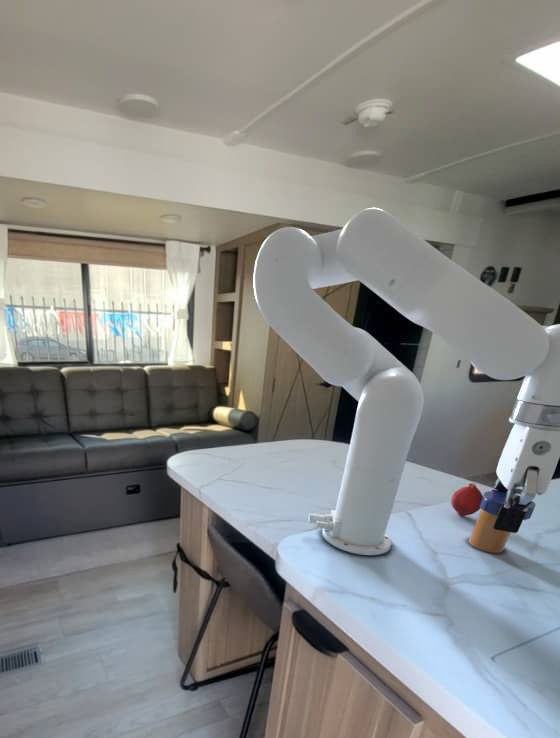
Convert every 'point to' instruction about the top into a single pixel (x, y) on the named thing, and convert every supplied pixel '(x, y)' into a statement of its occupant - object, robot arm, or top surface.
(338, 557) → the top surface
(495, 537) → the honey jar
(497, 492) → the honey lid
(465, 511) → the red pomegranate
